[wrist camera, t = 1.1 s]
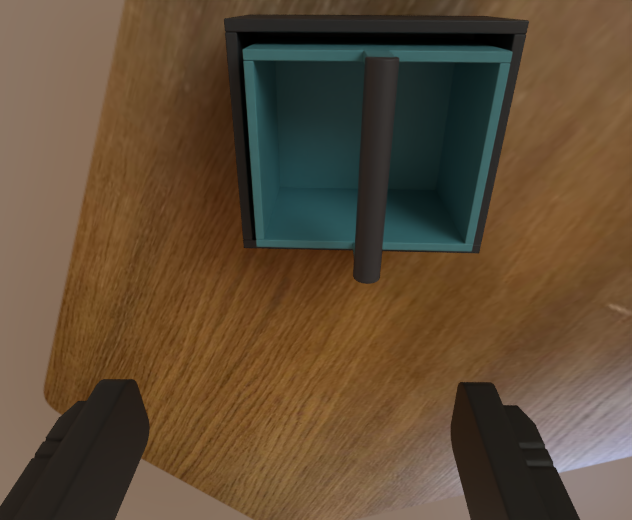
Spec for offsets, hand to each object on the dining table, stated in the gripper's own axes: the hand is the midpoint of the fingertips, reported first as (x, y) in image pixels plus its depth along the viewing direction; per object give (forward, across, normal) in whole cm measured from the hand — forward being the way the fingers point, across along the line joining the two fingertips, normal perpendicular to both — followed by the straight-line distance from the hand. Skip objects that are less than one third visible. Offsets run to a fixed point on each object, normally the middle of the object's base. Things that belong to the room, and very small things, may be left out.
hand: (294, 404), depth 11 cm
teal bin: (+24, -3, -1) cm, 24 cm away
